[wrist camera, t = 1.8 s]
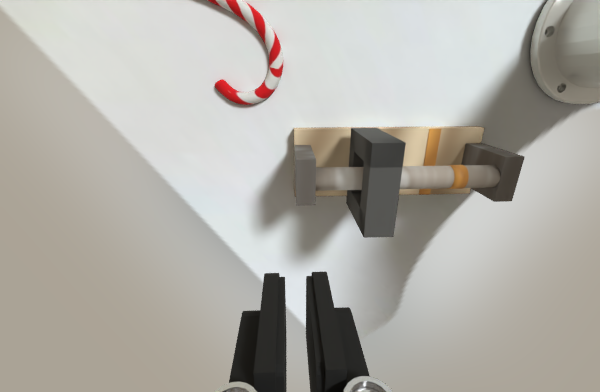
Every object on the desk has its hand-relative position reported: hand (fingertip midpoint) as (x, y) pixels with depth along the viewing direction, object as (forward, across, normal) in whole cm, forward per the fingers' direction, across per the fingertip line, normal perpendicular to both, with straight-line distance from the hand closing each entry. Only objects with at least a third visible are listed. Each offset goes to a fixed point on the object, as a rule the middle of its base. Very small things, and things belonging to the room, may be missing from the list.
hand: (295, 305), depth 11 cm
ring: (+19, -7, 0) cm, 20 cm away
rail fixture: (+21, -10, 0) cm, 23 cm away
